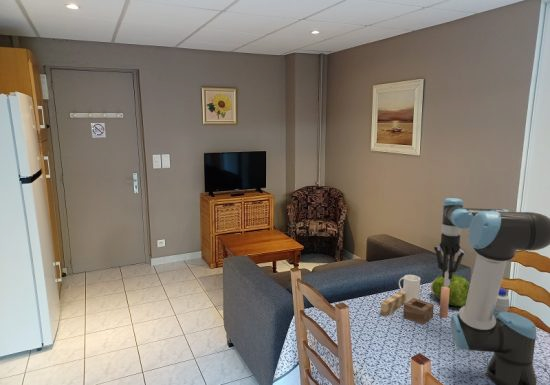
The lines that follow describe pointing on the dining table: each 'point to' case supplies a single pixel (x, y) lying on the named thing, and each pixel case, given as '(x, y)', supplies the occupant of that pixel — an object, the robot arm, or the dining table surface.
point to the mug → (411, 286)
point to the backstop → (393, 303)
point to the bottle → (501, 303)
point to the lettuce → (453, 289)
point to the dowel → (444, 302)
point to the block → (418, 311)
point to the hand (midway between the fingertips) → (446, 285)
